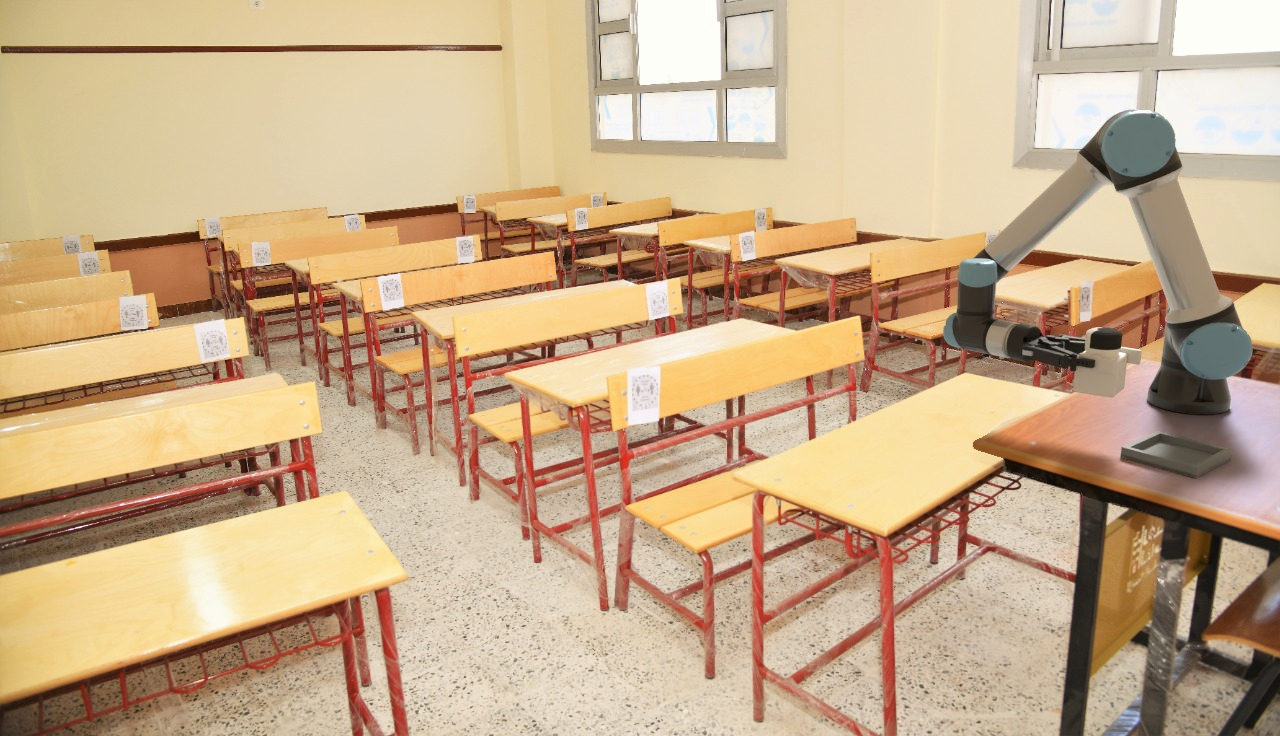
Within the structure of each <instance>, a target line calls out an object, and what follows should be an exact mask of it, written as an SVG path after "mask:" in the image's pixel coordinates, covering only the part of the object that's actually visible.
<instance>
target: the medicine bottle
mask: <svg viewBox="0 0 1280 736" xmlns="http://www.w3.org/2000/svg"><path fill="white" fill-rule="evenodd" d="M1085 338H1086V340H1085V351H1084V352H1083V353H1085V354H1091V355H1096V356H1101V357H1107V358H1112V359H1116V365H1115V374H1108V373H1103V372H1098V371H1093V370H1088V369H1083V368H1078V366H1077V367H1076V371H1074V381H1073V392H1074V393H1078V394H1087V395H1092V396H1098V397H1099V396H1100V397H1104V398H1112V399H1113V398H1115V397H1116V396H1117V395H1118V394H1119V393H1120V392H1121V391H1123V390H1124V389H1125V384H1126V375H1127V365H1128V363H1127V356H1128V354H1127V353H1123V352H1121V347H1122V341H1123V333H1122V332H1121V330H1119V329H1116V328H1114V327H1113V328H1112V327H1106V326H1105V327H1104V326H1102V327H1101V326H1100V327H1098V326H1097V327H1092V328H1090V329H1087V330H1086V332H1085ZM1077 356H1078V357H1079V354H1078V355H1077Z"/></svg>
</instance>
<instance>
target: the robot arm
mask: <svg viewBox="0 0 1280 736" xmlns="http://www.w3.org/2000/svg"><path fill="white" fill-rule="evenodd" d="M1176 141H1177V140H1176V133H1175V130H1174V128H1173V126H1172V124H1171V123H1170V122H1169V119H1167V118H1166V117H1164V116H1163V115H1162V114H1160V113H1158V112H1156V111H1154V110H1150V109H1141V108H1140V109H1128V110H1123V111H1120V112H1117V113H1116V114H1113V115H1112V116H1111V117H1109V118H1108V119H1107V120H1106V121H1105V122H1104V123H1103V124H1102V126H1101V127H1100V128H1099V129H1098V130H1097V132H1096V133H1095V134H1094V135H1093V137H1092V138H1090V140H1089V141H1088V142H1087V143H1086V144H1085V145H1084V146H1083V147H1082V148H1080V150H1079V151H1078V152H1077V153H1076V160H1075V161H1074V163H1072V164H1071V165H1070V166H1069V167H1068V168H1067V169H1066V170H1065V171H1063V172H1062V174H1060V176H1059V177H1058V178H1056V180H1054V181H1053V183H1051V184H1050V185H1049V186H1048V187H1047V188H1046V189H1045V190H1044V191H1043V192H1042V193H1041V194H1039V195H1038V197H1036V198H1035V199H1034V200H1033V201H1032V202H1031V203H1030V204H1029V205H1028V206H1027V207H1025V209H1024V210H1023V211H1021V212H1020V213H1019V214H1018V215H1017V216H1016V217H1015V218H1014V219H1013V220H1011V222H1010V223H1009V224H1008V225H1007V226H1006V227H1005V228H1003V230H1001V231H1000V232H999V233H998V234H997V235H996V236H995V237H994V238H993V239H991V241H989V242H988V243H987V245H985V247H984V248H983V249H982V250H980V251H979V252H978V253H977V254H976V255H975V256H974V257H972V258H967V259H963V260H961V261H960V263H959V266H958V272H957V301H956V302H957V305H956V307H957V308H956V312H954V313H951V314H950V315H948V317H947V318H946V320H945V325H944V326H943V331H942V332H943V333H942V334H943V338H944V340H945V342H946V343H947V344H948V345H949V346H951V347H955V348H958V349H961V350H962V351H963V350H965V351H970V352H975V353H982V354H987V355H990V356H991V355H992V356H997V357H999V359H1000V360H1004V359H1005V358H1007V359H1011V360H1014V361H1020V362H1025V363H1031V362H1033V361H1035V362H1039V363H1042V364H1045V365H1049V366H1052V367H1057V368H1060V369H1065V370H1066V369H1068V368H1069V371H1070V372H1075V371H1076V367H1077V366H1078V368H1083V369H1088V370H1093V371H1098V372H1103V373H1108V374H1115V365H1116V359H1112V358H1107V357H1101V356H1096V355H1091V354H1085V353H1083V352H1084V351H1085V340H1086V337H1079V336H1072V335H1067V334H1062V333H1061V334H1059V335H1058V336H1055V335H1053V334H1052V335H1051V334H1050V335H1049V334H1048V335H1045V336H1044V335H1043V333H1042V330H1041V329H1040V328H1039V327H1038V325H1033V324H1027V323H1019V322H1016V321H1012V320H1011V321H1010V320H1004V319H998V318H995V304H996V293H997V283H998V282H999V281H1001V280H1002V279H1003V278H1004V277H1005V276H1006V275H1007V274H1009V272H1010V271H1011V270H1012V269H1014V267H1015V266H1017V265H1018V264H1019V263H1020V262H1021V261H1022V260H1024V259H1025V258H1026V257H1027V256H1028V255H1029V254H1030V253H1031V252H1032V251H1033V250H1034V249H1036V248H1037V247H1038V246H1039V245H1040V244H1041V243H1042V242H1043V241H1045V240H1046V239H1047V238H1048V237H1049V236H1050V235H1051V234H1052V233H1053V232H1055V231H1056V230H1057V229H1058V228H1059V227H1060V226H1061V225H1062V224H1064V222H1065V221H1067V220H1068V219H1069V218H1070V217H1071V216H1072V215H1073V214H1074V213H1075V212H1076V211H1077V210H1079V209H1080V208H1081V207H1083V205H1084V204H1085V203H1086V202H1087V201H1089V200H1090V199H1091V198H1092V197H1093V196H1094V195H1095V194H1096V193H1097V192H1098V191H1100V190H1101V189H1102V188H1103V187H1104V186H1112V185H1113V187H1114V189H1115V192H1116V193H1118V194H1120V195H1123V196H1125V197H1127V198H1128V201H1129V204H1130V206H1131V208H1132V211H1133V214H1134V217H1135V219H1136V222H1137V224H1138V227H1139V230H1140V232H1141V235H1142V238H1143V241H1144V244H1145V246H1146V248H1147V250H1148V254H1149V256H1150V259H1151V261H1152V265H1153V267H1154V270H1155V272H1156V275H1157V278H1158V281H1159V283H1160V285H1161V288H1162V290H1163V293H1164V297H1165V298H1166V302H1167V304H1168V306H1167V310H1166V316H1165V317H1164V321H1165V329H1164V336H1163V346H1162V353H1161V362H1160V365H1159V368H1158V370H1157V372H1156V374H1155V376H1154V378H1153V380H1152V382H1151V383H1150V386H1149V387H1148V391H1147V396H1146V397H1147V398H1146V400H1147V402H1149V403H1150V404H1152V405H1153V406H1155V407H1158V408H1161V409H1163V410H1167V411H1172V412H1177V413H1181V414H1182V413H1183V414H1191V415H1216V414H1217V415H1218V414H1222V413H1225V412H1226V413H1227V412H1228V411H1229V410H1230V409H1231V401H1232V398H1231V397H1232V396H1231V392H1230V389H1229V384H1228V380H1227V379H1228V378H1230V377H1232V376H1236V375H1237V374H1239V373H1240V372H1241V371H1242V370H1243V369H1244V368H1245V367H1246V366H1247V365H1248V364H1249V362H1250V360H1251V358H1252V355H1253V349H1254V347H1253V344H1252V343H1253V342H1252V338H1251V336H1250V334H1249V333H1248V331H1246V330H1245V329H1244V327H1243V325H1242V322H1241V320H1240V317H1239V314H1238V312H1237V310H1236V307H1235V303H1234V301H1233V299H1232V298H1231V297H1228V296H1226V295H1222V294H1221V293H1220V290H1219V288H1218V286H1217V283H1216V280H1215V278H1214V274H1213V272H1212V269H1211V267H1210V263H1209V261H1208V259H1207V255H1206V252H1205V250H1204V247H1203V244H1202V243H1201V238H1200V236H1199V234H1198V232H1197V229H1196V226H1195V223H1194V221H1193V217H1192V215H1191V212H1190V210H1189V207H1188V204H1187V201H1186V200H1185V197H1184V194H1183V190H1182V189H1181V185H1180V183H1179V181H1178V177H1179V175H1180V174H1181V172H1182V170H1183V167H1184V166H1183V164H1182V161H1181V158H1180V155H1179V152H1178V150H1177V147H1176ZM1121 352H1123V353H1127V354H1128V356H1127V364H1130V365H1131V364H1132V365H1136V366H1137V365H1141V360H1142V349H1137V348H1131V347H1127V346H1126V347H1125V346H1121ZM1078 355H1079V357H1078Z"/></svg>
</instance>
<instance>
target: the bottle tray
mask: <svg viewBox="0 0 1280 736" xmlns="http://www.w3.org/2000/svg"><path fill="white" fill-rule="evenodd" d="M1232 454H1233V449H1230V448H1226V447H1223V446H1220V445H1215V444H1210V443H1207V442H1202V441H1199V440H1195V439H1192V438H1188V437H1187V438H1186V437H1184V436H1180V435H1174V434H1171V433H1167V432H1164V431H1159V430H1156V431H1154V432H1151V433H1150V434H1148V435H1145V436H1143V437H1141V438H1138V439H1136V440H1134V441H1132V442H1130V443H1128V444H1125V445H1123V446H1121V449H1120V456H1119V457H1120V458H1122V457H1123V458H1122V459H1125V458H1126V460H1130V461H1133V462H1137V463H1140V464H1143V465H1146V464H1147V466H1151V467H1154V468H1158V469H1160V470H1164V469H1165V471H1168V472H1172V473H1176V474H1178V475H1182V476H1185V477H1189V478H1193V479H1198V478H1200V477H1202V476H1203V475H1205V474H1208V473H1209V472H1210V471H1212V470H1215V469H1217V468H1218V467H1220V466H1223V465H1224V464H1226V463H1228V462H1230V461H1231V460H1232Z"/></svg>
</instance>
